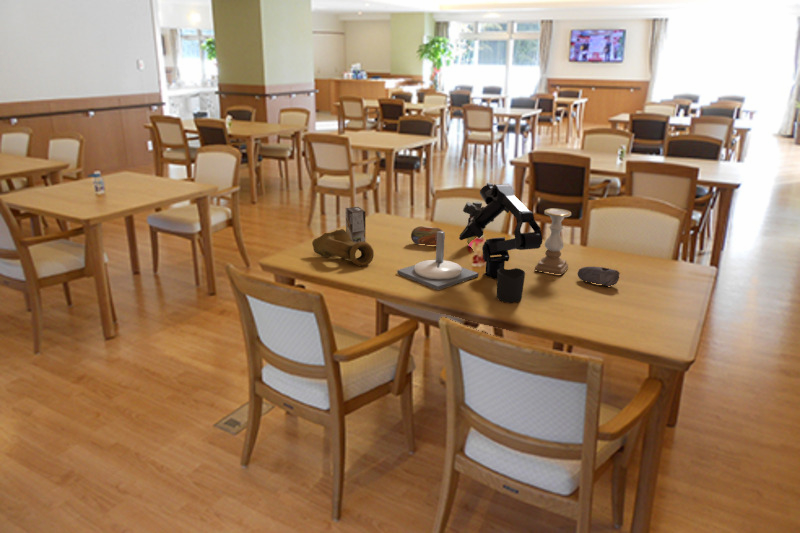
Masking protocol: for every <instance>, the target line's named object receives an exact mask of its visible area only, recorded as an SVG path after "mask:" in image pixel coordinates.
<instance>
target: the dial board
mask: <svg viewBox="0 0 800 533" xmlns="http://www.w3.org/2000/svg"><path fill="white" fill-rule="evenodd" d="M434 260H436V258H435V259H434ZM415 265H416V264H414V265H410V266H407V267H403V268H400V269H397V270H396V272H397V275H399V274H400V275H399V276H402V277H404V278H406V279H409V280H411V279H412V281H414V282H416V281H417V283H419V284H421V285H424V286H426V287H429V288H431V289H434V290H436V291H440V289H441V290H444V289H446V287H447V288H449V286H450V287H452V285H453V286H455V285H454V284H456V285H458V284H457V283H459V284H461V283H460V282H462V283H464V282H463V281H465V282H467V281H466V280H468V281H470V280H469V279H471V280H473V279H472V278H474V279H476V278H475V277H477V278H479V272H476V271H474V270H471V269H468V268H465V267H462V266H461V268H462V273H461V275H460V276H458V277H456V278H452V279H442V280H439V279H429V278H425V277H422V276H419V275H417V274H416V273H415ZM443 288H444V289H443Z"/></svg>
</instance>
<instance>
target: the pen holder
mask: <svg viewBox="0 0 800 533" xmlns="http://www.w3.org/2000/svg"><path fill="white" fill-rule="evenodd" d="M525 276H526V272H525V270H523V269H521V268H510V269H508V268H507V269H506V268H504V269H503V268H500V269H498V270H497V279H496V298H497V300H498V299H499V301H500V302H502V301H503V303H506V302H509V303H508V304H514V303H513V302H516V303H519V302H520V301H522V298H523V291H524V284H525ZM518 301H519V302H518Z"/></svg>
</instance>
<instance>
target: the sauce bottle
mask: <svg viewBox="0 0 800 533" xmlns="http://www.w3.org/2000/svg"><path fill="white" fill-rule="evenodd" d="M472 204H473V205H475V206H477V207H478V208H482V207H483V203H482V202H481V201H472ZM468 218H470V219H471V218H472V216H471V217H470V216H469V217H468ZM476 237H477V236H474V237H470V238H467V239H466V242H467V243H468V244H469V243H470V242H471V241H472V240H474V239H475V238H476ZM467 243H466V244H467Z"/></svg>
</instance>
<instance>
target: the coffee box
mask: <svg viewBox="0 0 800 533" xmlns="http://www.w3.org/2000/svg"><path fill="white" fill-rule="evenodd" d="M345 231H346V233H347V234H348V235H349V237H350V238H351V240H352V241H353V242H355V243H357V242H367V241H366V237H367V236H366V234H367V233H366V210H365V209H363V208H361V207H359V206H351V207H345Z"/></svg>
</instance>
